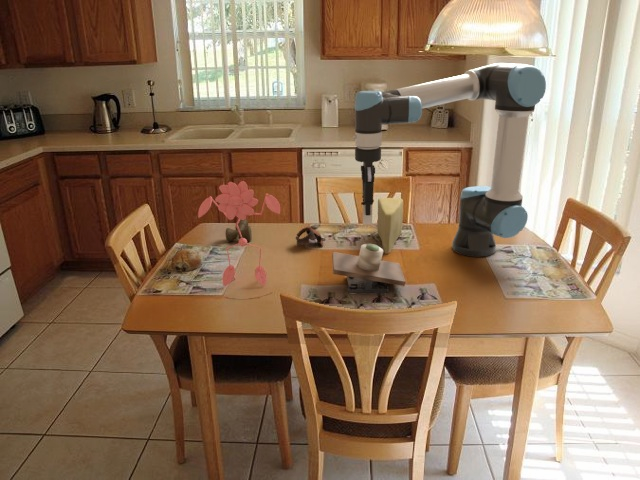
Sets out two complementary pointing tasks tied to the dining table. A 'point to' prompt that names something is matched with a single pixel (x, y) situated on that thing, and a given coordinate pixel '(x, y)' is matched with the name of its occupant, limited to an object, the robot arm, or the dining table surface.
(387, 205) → the cheese
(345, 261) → the panel with push button
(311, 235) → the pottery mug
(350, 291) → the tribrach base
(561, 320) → the dining table surface
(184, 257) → the bread roll
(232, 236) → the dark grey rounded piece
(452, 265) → the dining table surface
